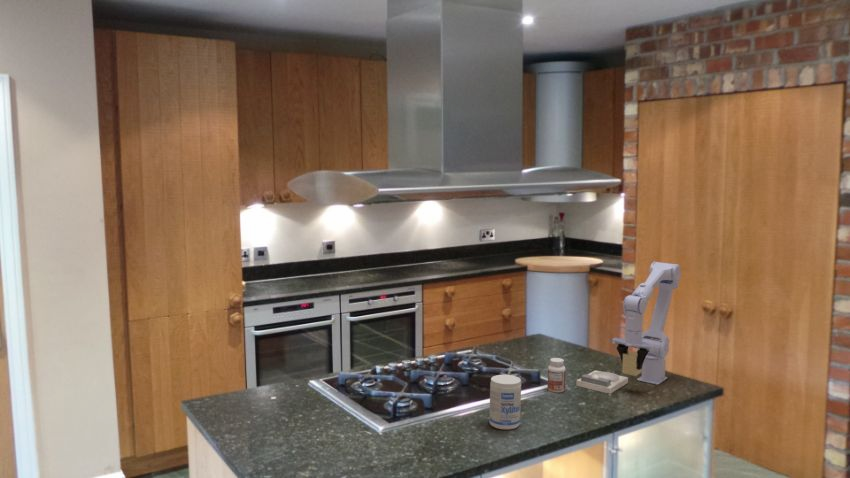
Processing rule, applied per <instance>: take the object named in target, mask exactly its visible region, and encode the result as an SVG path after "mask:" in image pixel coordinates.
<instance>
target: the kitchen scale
mask: <svg viewBox="0 0 850 478" xmlns="http://www.w3.org/2000/svg"><path fill="white" fill-rule="evenodd" d="M580 376H581V377H580V378H578V379H577V380H576V387H580V388H584V389H589V390H593V391H595V392H597V391H598V392H601V393H604V394H608V395H610V394H613V393H614V392H616V391H617V390H619V389H620V388H623V386H625V385H626V384H628V383H629V377H627V376H623V375H618V374H616V373H613V372H609V371H601V370H596V369H595V370H593V371H592V372H589V373H585V374H583V375H580Z"/></svg>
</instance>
